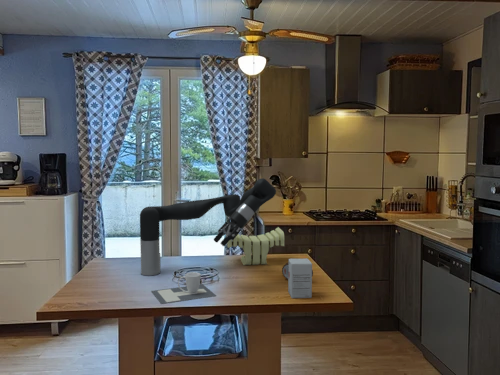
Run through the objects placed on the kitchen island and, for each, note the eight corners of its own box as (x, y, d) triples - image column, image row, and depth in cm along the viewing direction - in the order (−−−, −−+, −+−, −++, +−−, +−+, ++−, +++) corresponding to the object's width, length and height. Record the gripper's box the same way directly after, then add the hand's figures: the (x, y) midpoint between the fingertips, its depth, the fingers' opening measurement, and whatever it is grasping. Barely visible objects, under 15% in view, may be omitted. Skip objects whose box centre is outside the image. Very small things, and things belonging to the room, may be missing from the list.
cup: (200, 295, 199) (200, 276, 198) (177, 295, 198) (177, 276, 198) (201, 289, 206) (201, 272, 205) (178, 290, 205) (178, 272, 205)
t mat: (202, 284, 214) (202, 284, 214) (216, 296, 198) (216, 295, 198) (150, 291, 204) (150, 290, 204) (161, 304, 188) (161, 303, 188)
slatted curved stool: (228, 267, 244) (228, 233, 242) (225, 259, 260) (225, 228, 258) (284, 265, 248) (284, 232, 247) (278, 258, 264) (278, 227, 262)
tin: (313, 281, 220) (313, 264, 219) (311, 283, 217) (311, 265, 216) (283, 277, 226) (283, 260, 225) (281, 279, 223) (281, 262, 222)
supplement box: (287, 291, 204) (288, 258, 203) (307, 291, 205) (308, 258, 204) (291, 298, 195) (291, 263, 194) (312, 298, 196) (312, 263, 195)
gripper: (254, 223, 205) (230, 251, 201) (240, 218, 218) (218, 245, 214) (243, 212, 202) (218, 240, 198) (230, 208, 215) (207, 234, 211)
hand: (218, 243), depth 206 cm, fingers open, 8 cm apart
